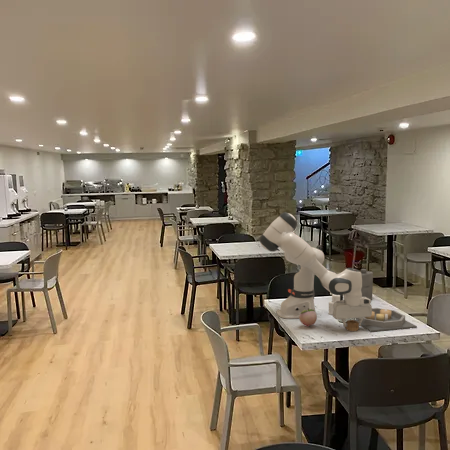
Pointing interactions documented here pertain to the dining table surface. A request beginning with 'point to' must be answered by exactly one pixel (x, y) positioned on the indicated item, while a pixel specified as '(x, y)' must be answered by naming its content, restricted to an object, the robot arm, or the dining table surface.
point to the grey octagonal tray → (385, 321)
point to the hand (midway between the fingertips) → (352, 326)
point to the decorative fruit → (308, 317)
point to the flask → (367, 283)
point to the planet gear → (352, 325)
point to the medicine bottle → (334, 299)
